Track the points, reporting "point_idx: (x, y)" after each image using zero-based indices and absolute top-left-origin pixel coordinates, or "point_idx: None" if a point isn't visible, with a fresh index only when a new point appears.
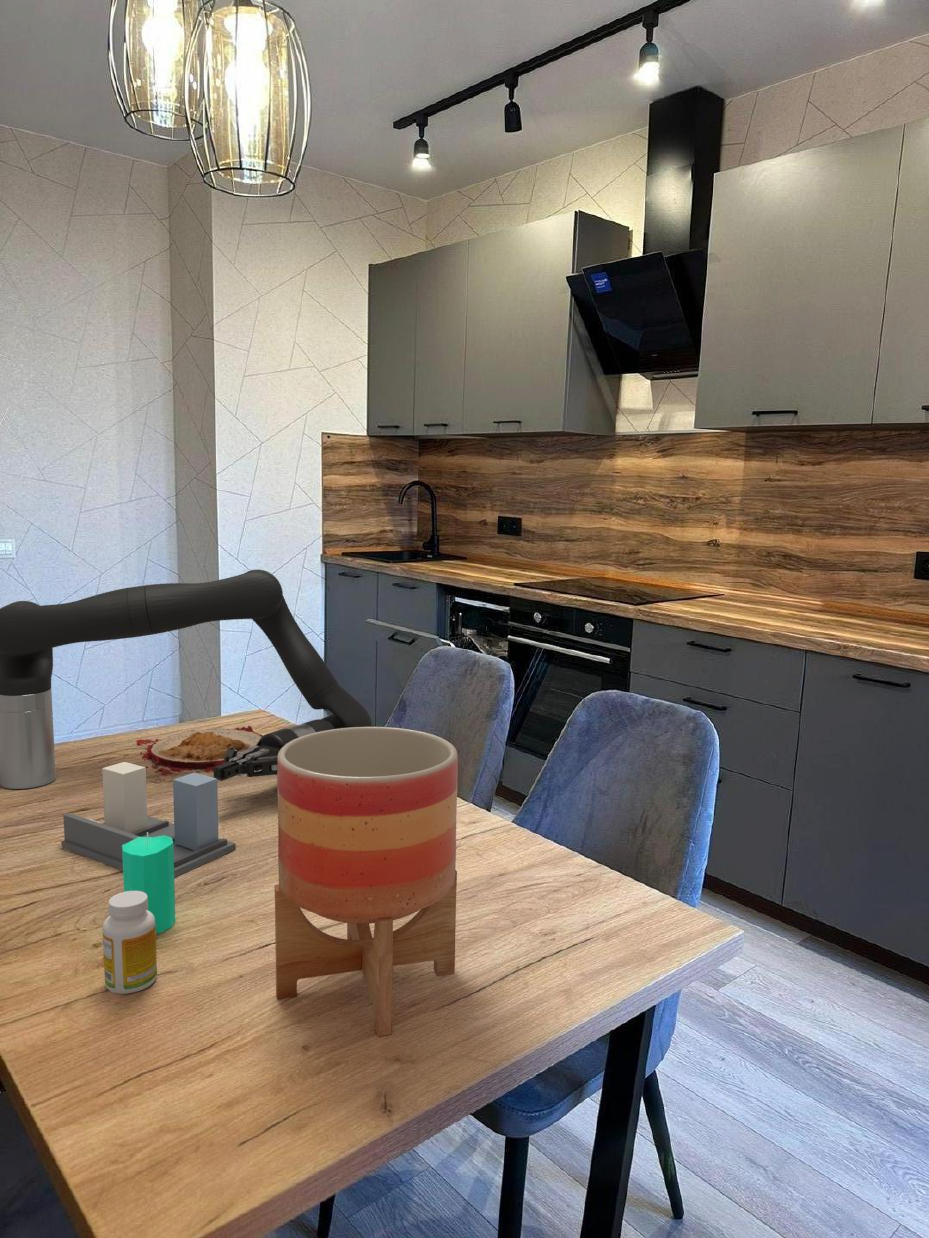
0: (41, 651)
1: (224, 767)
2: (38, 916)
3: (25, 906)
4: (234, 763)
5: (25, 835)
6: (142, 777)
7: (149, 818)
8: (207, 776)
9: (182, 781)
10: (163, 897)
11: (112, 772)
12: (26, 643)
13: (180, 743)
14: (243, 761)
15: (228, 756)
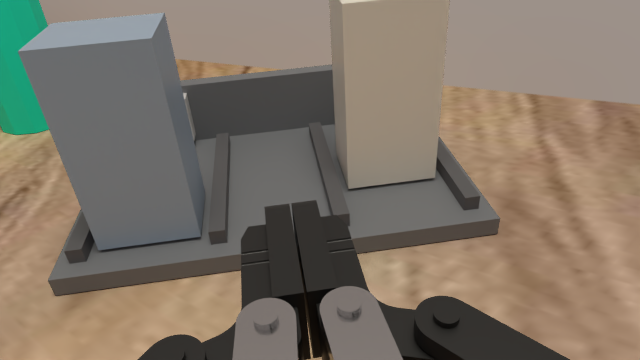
0: None
1: (267, 226)
2: (203, 74)
3: (242, 72)
4: (272, 286)
5: (525, 103)
6: (341, 32)
7: (434, 220)
8: (71, 45)
9: (124, 18)
10: None
11: None
12: None
13: None
14: (237, 334)
15: (434, 313)
